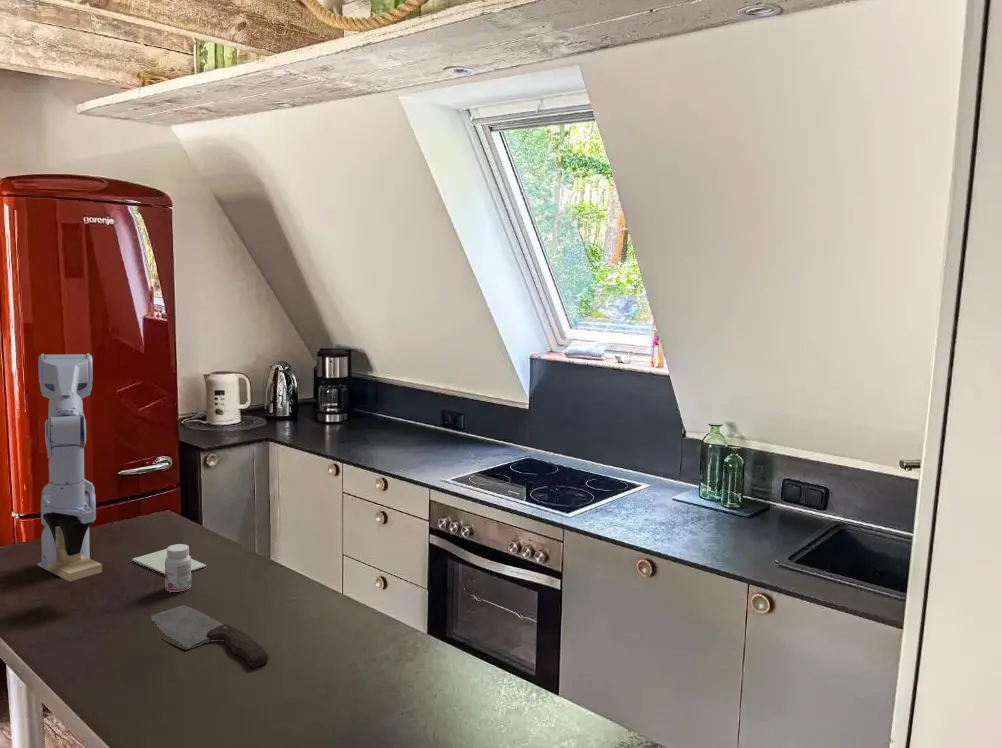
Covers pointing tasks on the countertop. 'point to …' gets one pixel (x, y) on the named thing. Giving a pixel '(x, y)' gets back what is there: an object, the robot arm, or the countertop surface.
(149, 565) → the board
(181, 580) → the pill bottle
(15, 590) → the countertop surface
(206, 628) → the cleaver
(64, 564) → the wooden post on base
